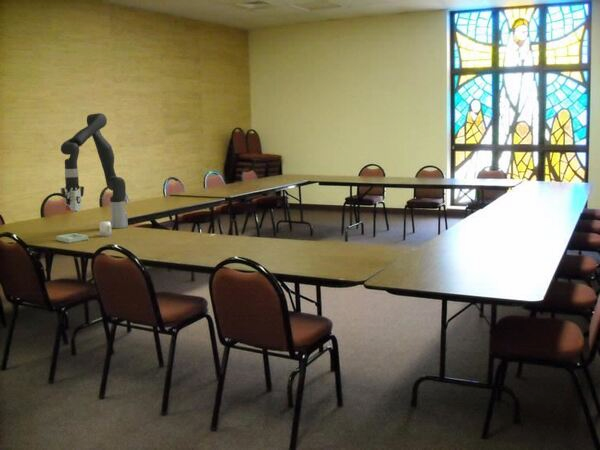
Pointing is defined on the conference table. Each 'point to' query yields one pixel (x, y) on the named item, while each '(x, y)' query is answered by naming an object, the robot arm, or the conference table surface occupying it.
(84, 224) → the conference table surface
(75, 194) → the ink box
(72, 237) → the tray
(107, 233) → the mug
